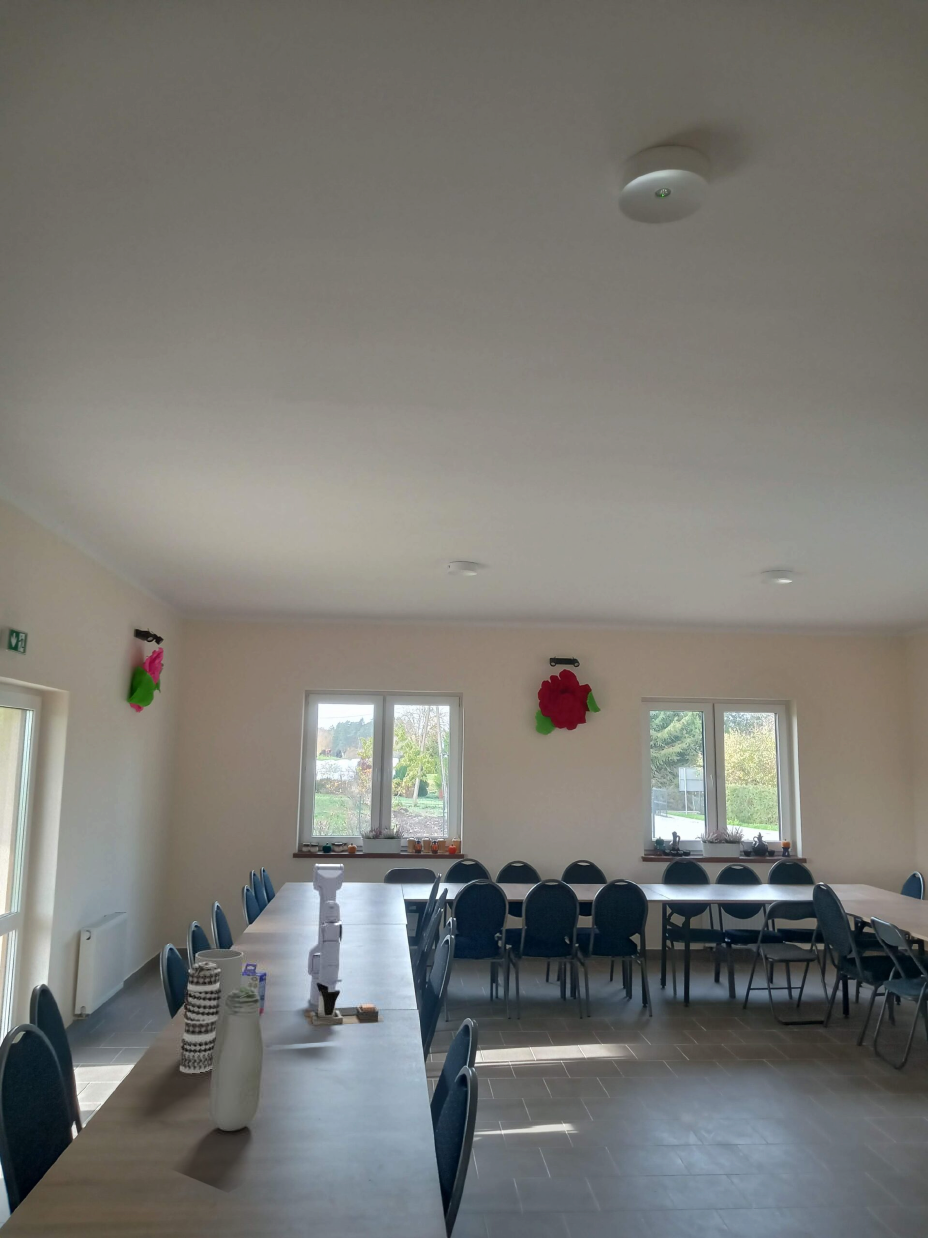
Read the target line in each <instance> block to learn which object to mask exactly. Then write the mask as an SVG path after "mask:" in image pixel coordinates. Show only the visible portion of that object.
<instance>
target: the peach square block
mask: <svg viewBox="0 0 928 1238" xmlns="http://www.w3.org/2000/svg"><path fill="white" fill-rule="evenodd" d="M374 1006H375V1005H374V1003H366V1004H365V1003H364V1004H363V1003H362V1004H360V1007H361V1011H375V1007H376V1006H375V1007H374Z"/></svg>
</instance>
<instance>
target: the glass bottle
mask: <svg viewBox="0 0 928 1238" xmlns="http://www.w3.org/2000/svg"><path fill="white" fill-rule="evenodd" d="M259 1010H260V998H259V995H258V993H257V991H256V990H254V989H252V988H250V987H244V988H238V989H235V990H233V991H232V992H231V993H230V994H229V995H228V996H227V998H226V1001H225V1012H224V1015H223V1019H222V1023H221V1027H220V1030H219V1032H218V1035H217V1038H216V1042H215V1045H214V1051H213V1062H212V1070H211V1081H210V1094H209V1095H210V1097H209V1112H210V1113H209V1114H210V1118H211V1121H212V1123H213V1125H215V1127H217V1128H218V1129H220V1130H221V1131H226V1132H227V1131H228V1132H235V1131H238V1130H241V1129H243V1128H244V1127H246V1126H247V1125H249V1124H250V1123H251V1122H252V1121H253V1119H254V1117H255V1115H256V1114H257V1111H258V1107H259V1102H260V1093H261V1092H260V1091H261V1081H262V1080H261V1079H262V1078H261V1077H262V1069H263V1060H264V1059H263V1058H264V1041H263V1032H262V1026H261V1023H260V1013H259Z"/></svg>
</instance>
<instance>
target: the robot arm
mask: <svg viewBox="0 0 928 1238" xmlns="http://www.w3.org/2000/svg"><path fill="white" fill-rule="evenodd" d="M344 878H345V865H343V863H340V864H333V863H329V864H324V863H321V864H320V863H315V864H314V866H313V873H312V887H313V890H315V891H317V892H318V896H319V908H318V909H319V910H318V911H319V913H318V929H317V930H318V933H317V936H318V937H317V944H315V945H313V946H312V947H311V948H310V950H309V951H308V960H307V961H308V962H307V974H308V975H309V976H311V979H310V990H309V991H310V992H309V1003H310V1004H312V1005H315V1006H319V992H320V991H321V994H322V997H323V1002H324V1012H325V1015H332V1014H333V1010H334V1006H335V1007H336V1002H337V999H338V997H339V996H340V993H341V991H340V989H336V986H337V984H338V983H342V982H343V979H342V978H341V977H339V970H340V947H341V942H342V939H343V922H342V920H341V912H340V904H338V903H337V902H336V901H337V891H339V890H341V888H342V886H343V883H344Z"/></svg>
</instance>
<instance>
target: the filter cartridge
mask: <svg viewBox="0 0 928 1238" xmlns="http://www.w3.org/2000/svg"><path fill="white" fill-rule="evenodd" d="M335 1008H336V1005H335V1006H334V1010H333V1014H332V1015H325V1012H324V1002H323V997H322V994H321V991H320V992H319V1005H318V1008H317V1010H318V1018H333V1017H335Z"/></svg>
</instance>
